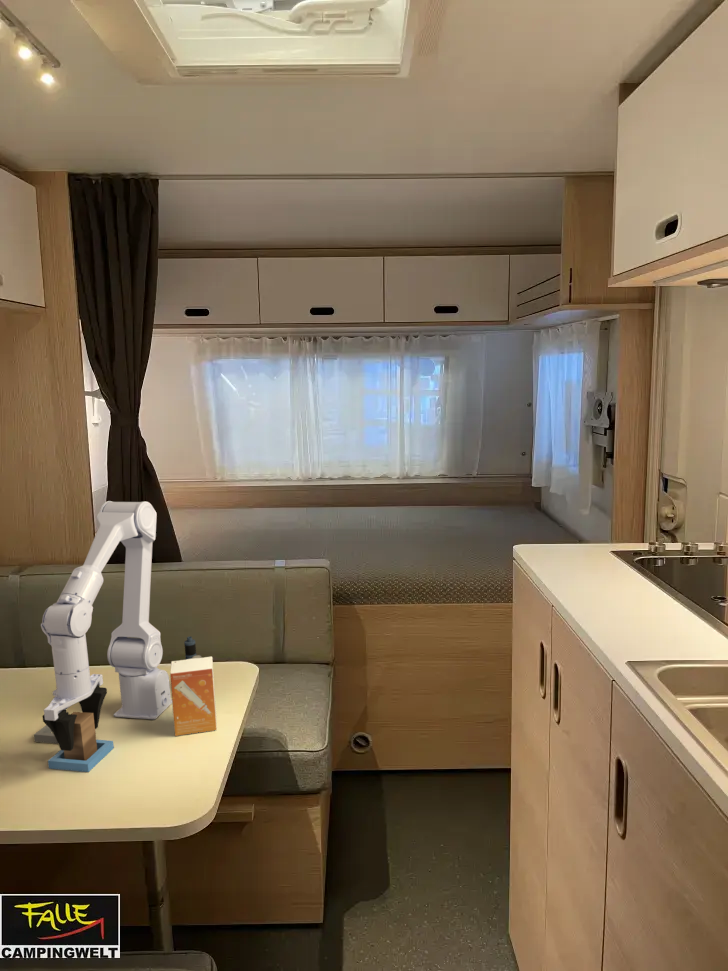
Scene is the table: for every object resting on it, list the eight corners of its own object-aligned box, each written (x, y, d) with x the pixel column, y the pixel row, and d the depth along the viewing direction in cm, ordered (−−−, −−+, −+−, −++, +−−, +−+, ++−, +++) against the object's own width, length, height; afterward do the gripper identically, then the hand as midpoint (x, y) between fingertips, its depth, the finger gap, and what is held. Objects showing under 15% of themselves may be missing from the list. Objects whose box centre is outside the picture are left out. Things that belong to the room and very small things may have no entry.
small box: (174, 737, 134) (169, 673, 132) (176, 721, 140) (170, 660, 138) (217, 731, 136) (212, 667, 134) (217, 715, 142) (212, 655, 140)
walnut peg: (97, 753, 129) (93, 712, 128) (85, 765, 125) (80, 723, 124) (78, 751, 130) (73, 711, 129) (65, 763, 126) (60, 722, 125)
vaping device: (195, 685, 157) (191, 634, 155) (208, 691, 153) (204, 640, 151) (185, 688, 155) (181, 637, 153) (198, 696, 151) (193, 643, 149)
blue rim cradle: (113, 748, 131) (113, 740, 131) (88, 772, 123) (87, 764, 123) (76, 745, 132) (75, 737, 132) (48, 768, 125) (47, 760, 125)
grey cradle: (95, 724, 140) (95, 717, 140) (71, 744, 133) (70, 737, 132) (60, 721, 142) (59, 714, 142) (34, 741, 134) (33, 734, 134)
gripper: (76, 651, 133) (84, 717, 135) (25, 684, 119) (34, 758, 121) (109, 652, 131) (116, 720, 133) (61, 686, 117) (70, 761, 120)
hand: (79, 738), depth 127 cm, fingers open, 7 cm apart
